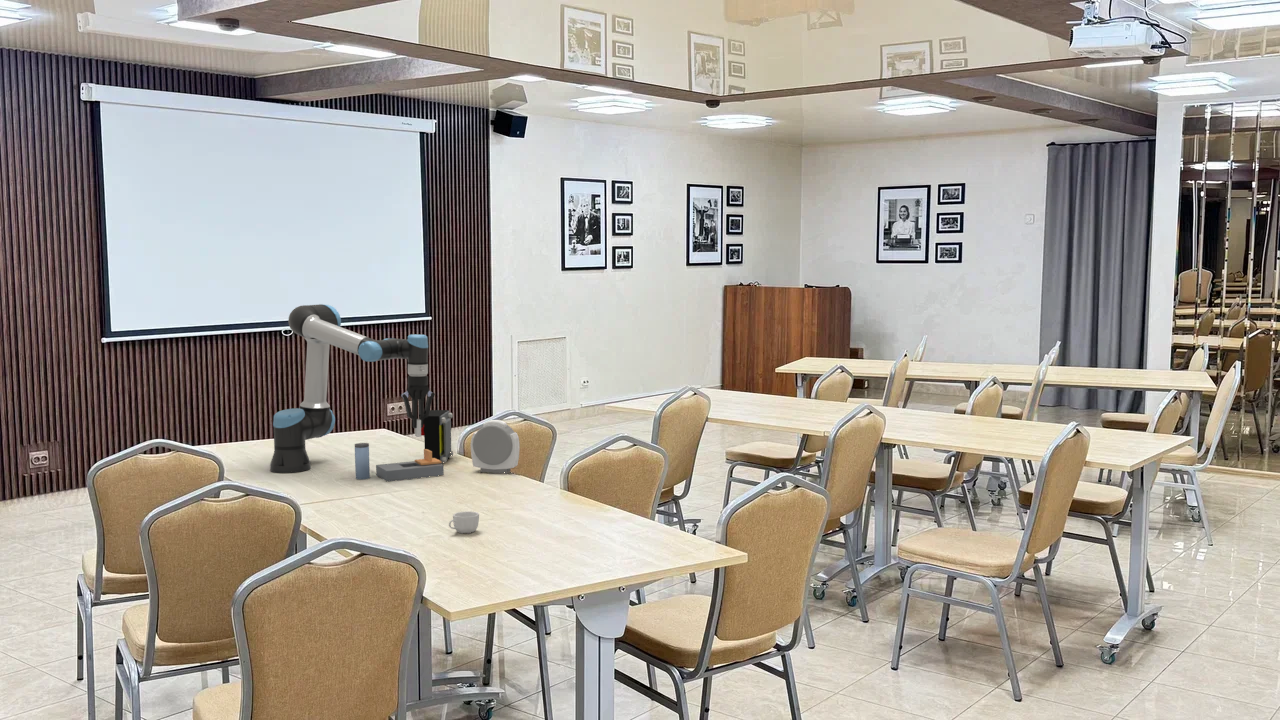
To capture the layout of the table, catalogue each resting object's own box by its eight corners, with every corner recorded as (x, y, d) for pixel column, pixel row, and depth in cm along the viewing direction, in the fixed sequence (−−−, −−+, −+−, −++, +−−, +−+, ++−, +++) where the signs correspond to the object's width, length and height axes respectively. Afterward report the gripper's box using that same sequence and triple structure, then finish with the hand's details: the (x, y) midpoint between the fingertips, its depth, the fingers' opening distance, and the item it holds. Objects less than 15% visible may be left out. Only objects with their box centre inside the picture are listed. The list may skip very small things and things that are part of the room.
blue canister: (354, 477, 396) (353, 443, 395) (367, 476, 399) (366, 442, 398) (357, 479, 392) (356, 445, 391) (371, 478, 394) (370, 444, 393)
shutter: (414, 461, 405) (414, 449, 405) (434, 459, 409) (434, 447, 409) (421, 465, 398) (421, 452, 398) (441, 463, 402) (441, 450, 402)
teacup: (469, 527, 321) (469, 510, 320) (484, 531, 315) (484, 514, 315) (441, 533, 314) (441, 515, 313) (456, 537, 308) (456, 519, 308)
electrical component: (445, 465, 421) (444, 416, 419) (420, 465, 421) (419, 416, 419) (454, 457, 438) (453, 410, 437) (429, 457, 439) (429, 410, 437)
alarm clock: (520, 470, 410) (520, 419, 408) (514, 474, 402) (514, 422, 400) (477, 469, 413) (476, 418, 411) (469, 473, 405) (469, 421, 403)
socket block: (376, 475, 401) (375, 464, 401) (431, 469, 412) (431, 459, 412) (386, 481, 389) (386, 470, 389) (443, 475, 400) (443, 465, 400)
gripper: (404, 376, 393) (404, 439, 395) (437, 375, 399) (437, 436, 401) (398, 374, 399) (398, 435, 401) (431, 373, 406) (431, 433, 408)
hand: (418, 436), depth 401 cm, fingers closed
